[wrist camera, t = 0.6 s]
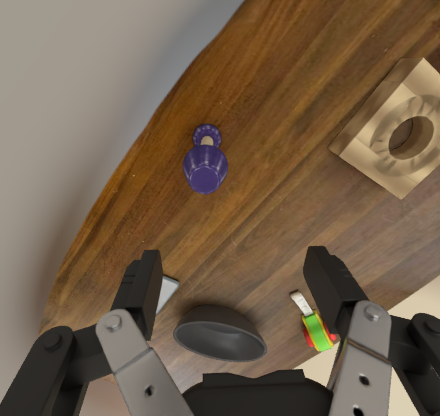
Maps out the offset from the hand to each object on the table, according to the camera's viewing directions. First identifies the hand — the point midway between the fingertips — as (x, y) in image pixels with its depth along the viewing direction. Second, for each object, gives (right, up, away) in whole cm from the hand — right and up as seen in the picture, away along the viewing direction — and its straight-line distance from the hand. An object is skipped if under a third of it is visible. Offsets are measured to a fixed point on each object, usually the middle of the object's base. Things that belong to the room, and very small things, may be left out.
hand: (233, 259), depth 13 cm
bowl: (-1, -23, +45) cm, 50 cm away
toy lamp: (-3, +14, +23) cm, 27 cm away
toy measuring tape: (+20, -22, +46) cm, 55 cm away
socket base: (+25, +14, +24) cm, 38 cm away
